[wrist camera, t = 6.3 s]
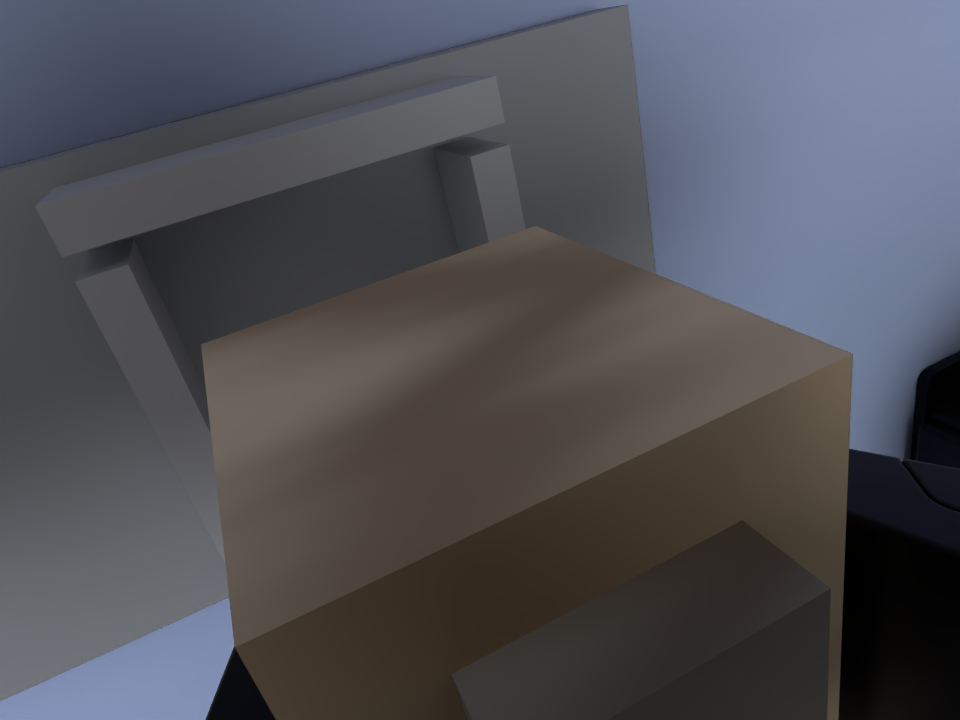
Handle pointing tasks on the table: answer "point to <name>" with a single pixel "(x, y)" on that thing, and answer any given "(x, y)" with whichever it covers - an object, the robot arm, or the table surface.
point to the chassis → (254, 291)
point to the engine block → (533, 497)
